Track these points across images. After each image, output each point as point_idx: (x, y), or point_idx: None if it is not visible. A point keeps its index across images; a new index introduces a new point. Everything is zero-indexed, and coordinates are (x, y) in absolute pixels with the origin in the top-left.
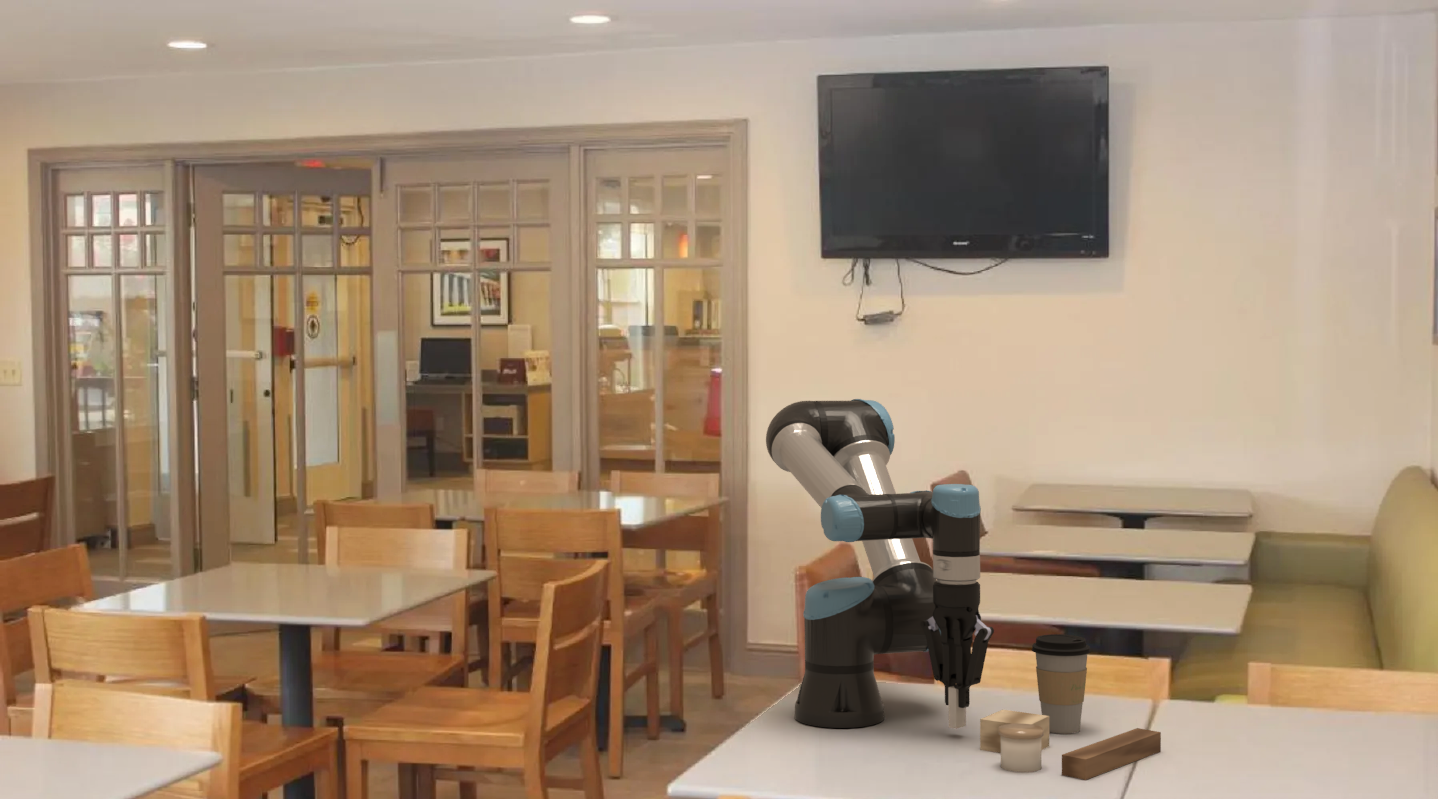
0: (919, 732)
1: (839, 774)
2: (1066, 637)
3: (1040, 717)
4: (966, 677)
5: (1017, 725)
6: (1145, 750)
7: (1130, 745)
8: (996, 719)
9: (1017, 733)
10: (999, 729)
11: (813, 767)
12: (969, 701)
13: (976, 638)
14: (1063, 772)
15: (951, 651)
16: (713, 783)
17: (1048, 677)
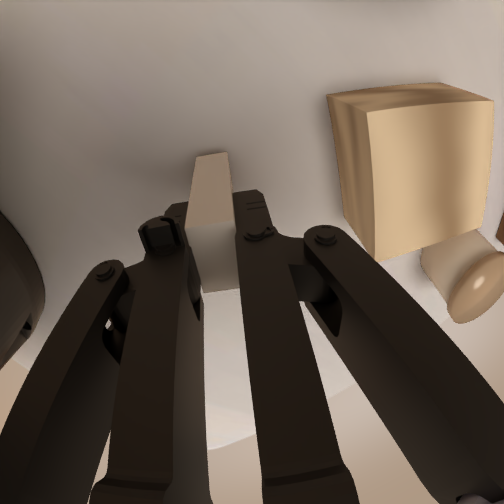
0: (121, 214)
1: None
2: None
3: (485, 132)
4: (315, 318)
5: (478, 284)
6: None
7: None
8: (411, 235)
9: (481, 313)
10: (455, 322)
11: (224, 408)
12: (263, 197)
13: (451, 498)
14: (499, 238)
15: (199, 445)
16: (213, 444)
17: None
